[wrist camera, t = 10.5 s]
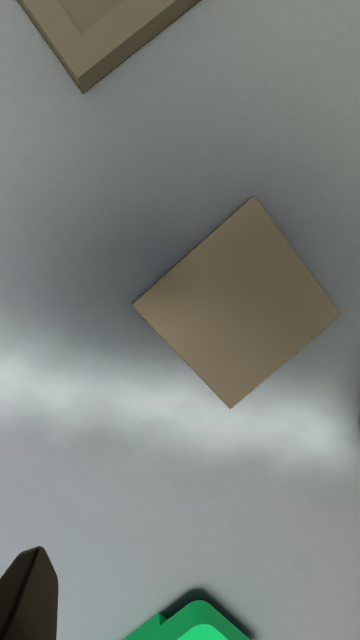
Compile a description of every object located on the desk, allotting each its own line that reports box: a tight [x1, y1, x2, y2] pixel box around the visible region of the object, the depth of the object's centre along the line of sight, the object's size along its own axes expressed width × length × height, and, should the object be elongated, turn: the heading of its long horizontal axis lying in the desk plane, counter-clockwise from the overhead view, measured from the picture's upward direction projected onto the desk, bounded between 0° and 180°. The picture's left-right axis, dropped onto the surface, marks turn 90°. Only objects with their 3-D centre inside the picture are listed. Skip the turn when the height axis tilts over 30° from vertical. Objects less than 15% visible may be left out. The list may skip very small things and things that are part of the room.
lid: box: [132, 196, 341, 409], centre depth 20 cm, size 9×9×1 cm
